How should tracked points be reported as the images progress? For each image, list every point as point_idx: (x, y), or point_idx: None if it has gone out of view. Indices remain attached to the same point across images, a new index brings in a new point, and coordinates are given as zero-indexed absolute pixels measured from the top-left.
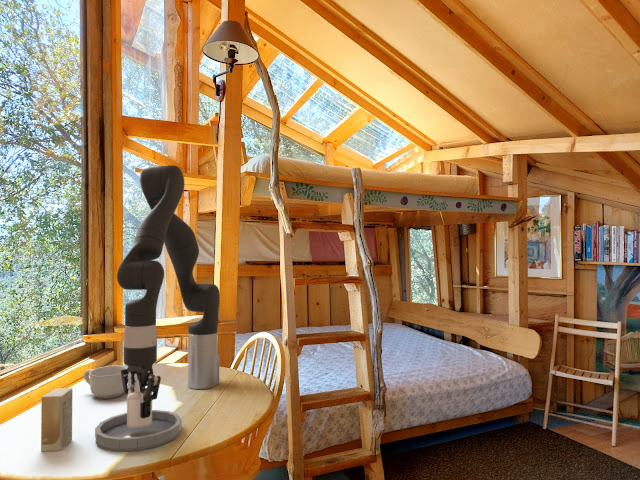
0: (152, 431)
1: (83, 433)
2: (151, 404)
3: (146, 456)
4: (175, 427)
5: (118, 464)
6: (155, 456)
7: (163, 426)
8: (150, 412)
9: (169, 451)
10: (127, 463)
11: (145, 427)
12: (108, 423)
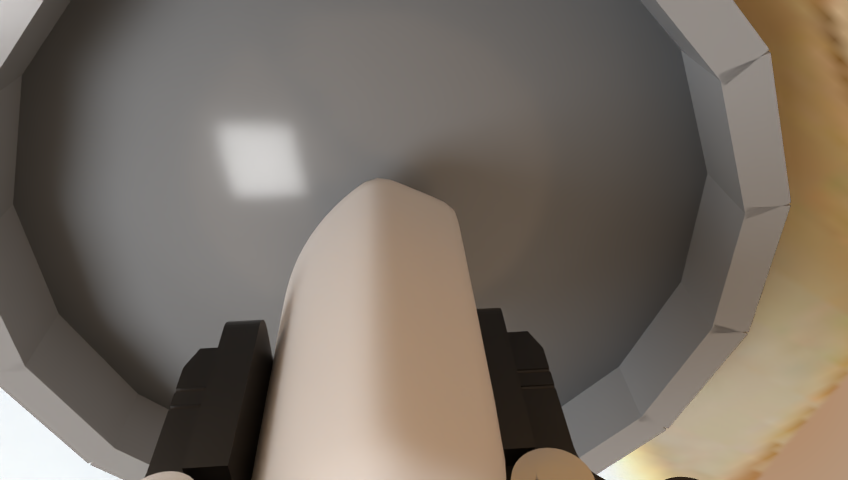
0: (456, 169)
1: (28, 444)
2: (484, 361)
3: (747, 355)
4: (776, 113)
5: (679, 472)
6: (804, 324)
7: (424, 23)
8: (541, 350)
9: (845, 233)
10: (715, 445)
11: (306, 162)
12: (93, 398)
